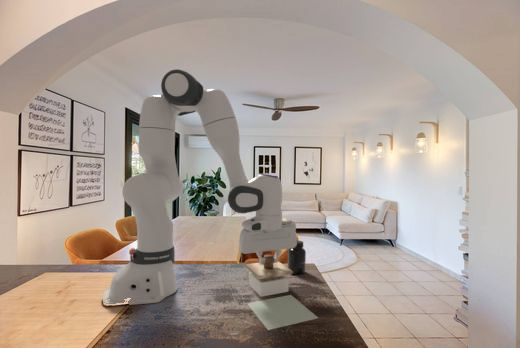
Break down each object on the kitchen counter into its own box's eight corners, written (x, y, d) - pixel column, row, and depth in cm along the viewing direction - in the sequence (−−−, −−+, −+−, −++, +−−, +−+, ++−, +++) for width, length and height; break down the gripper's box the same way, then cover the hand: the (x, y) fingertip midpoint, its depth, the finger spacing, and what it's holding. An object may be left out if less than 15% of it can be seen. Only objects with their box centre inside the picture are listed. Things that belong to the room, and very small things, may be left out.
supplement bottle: (305, 276, 107) (305, 244, 107) (287, 274, 109) (287, 243, 108) (305, 269, 114) (306, 240, 114) (288, 268, 115) (289, 239, 115)
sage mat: (268, 331, 71) (268, 330, 71) (246, 304, 84) (246, 303, 84) (318, 319, 76) (318, 317, 76) (290, 296, 90) (290, 294, 90)
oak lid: (259, 279, 87) (259, 263, 87) (245, 266, 98) (245, 252, 98) (293, 273, 92) (293, 259, 92) (276, 262, 103) (276, 249, 103)
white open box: (260, 298, 89) (260, 283, 89) (248, 286, 98) (249, 272, 98) (288, 293, 93) (288, 278, 93) (274, 282, 102) (274, 268, 102)
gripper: (291, 218, 102) (290, 256, 102) (237, 222, 94) (237, 264, 94) (300, 221, 96) (300, 262, 96) (243, 226, 88) (243, 270, 88)
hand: (268, 263), depth 95 cm, fingers closed on oak lid, 3 cm apart
